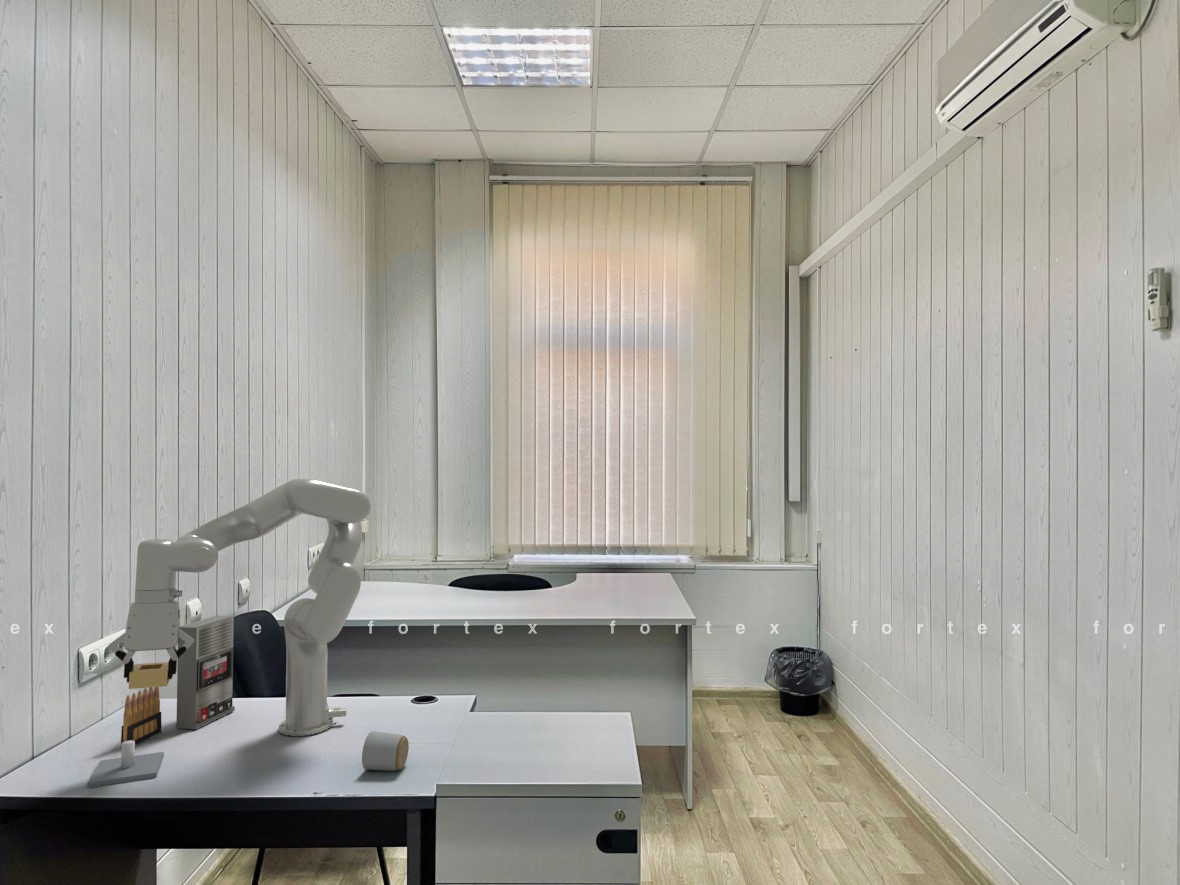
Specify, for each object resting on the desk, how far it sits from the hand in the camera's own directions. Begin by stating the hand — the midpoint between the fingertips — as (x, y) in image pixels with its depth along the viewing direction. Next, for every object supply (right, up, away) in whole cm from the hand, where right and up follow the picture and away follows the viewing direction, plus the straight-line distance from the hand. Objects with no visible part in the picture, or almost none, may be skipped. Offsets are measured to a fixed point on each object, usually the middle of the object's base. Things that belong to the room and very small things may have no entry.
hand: (150, 678), depth 158 cm
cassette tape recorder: (-2, -20, +28) cm, 34 cm away
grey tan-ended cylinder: (+51, -19, 0) cm, 55 cm away
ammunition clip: (-11, -19, +14) cm, 26 cm away
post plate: (-3, -19, -3) cm, 19 cm away
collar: (0, -1, 0) cm, 1 cm away
